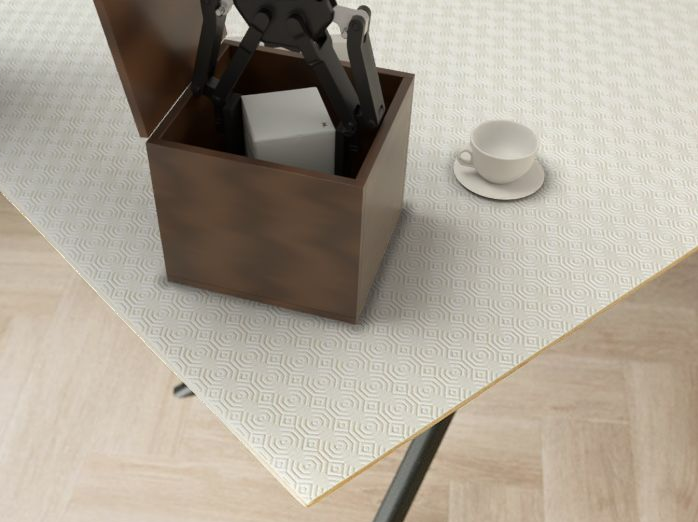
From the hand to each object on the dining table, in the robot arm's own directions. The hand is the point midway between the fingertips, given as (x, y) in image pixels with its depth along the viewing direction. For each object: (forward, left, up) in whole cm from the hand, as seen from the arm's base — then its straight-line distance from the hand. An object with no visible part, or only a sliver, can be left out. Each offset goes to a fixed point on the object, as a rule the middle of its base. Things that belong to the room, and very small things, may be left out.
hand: (288, 172), depth 85 cm
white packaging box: (0, 0, -6) cm, 6 cm away
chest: (0, 0, -9) cm, 9 cm away
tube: (-14, +28, -9) cm, 33 cm away
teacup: (+18, +18, -9) cm, 27 cm away
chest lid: (-11, 0, +17) cm, 20 cm away
